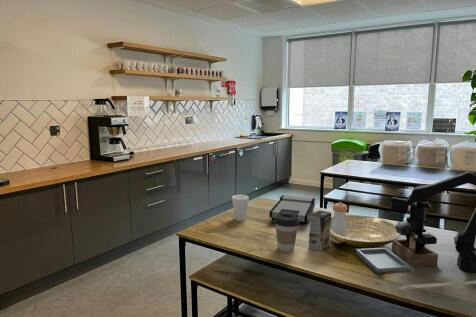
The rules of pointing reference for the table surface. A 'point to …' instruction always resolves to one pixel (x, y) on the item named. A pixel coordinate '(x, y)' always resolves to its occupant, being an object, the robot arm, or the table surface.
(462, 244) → the robot arm
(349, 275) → the table surface
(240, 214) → the foam cup
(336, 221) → the pepper shaker
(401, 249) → the pin trough
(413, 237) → the dowel pin
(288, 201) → the office tray
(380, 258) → the tray
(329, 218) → the coffee box
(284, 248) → the coffee cup
